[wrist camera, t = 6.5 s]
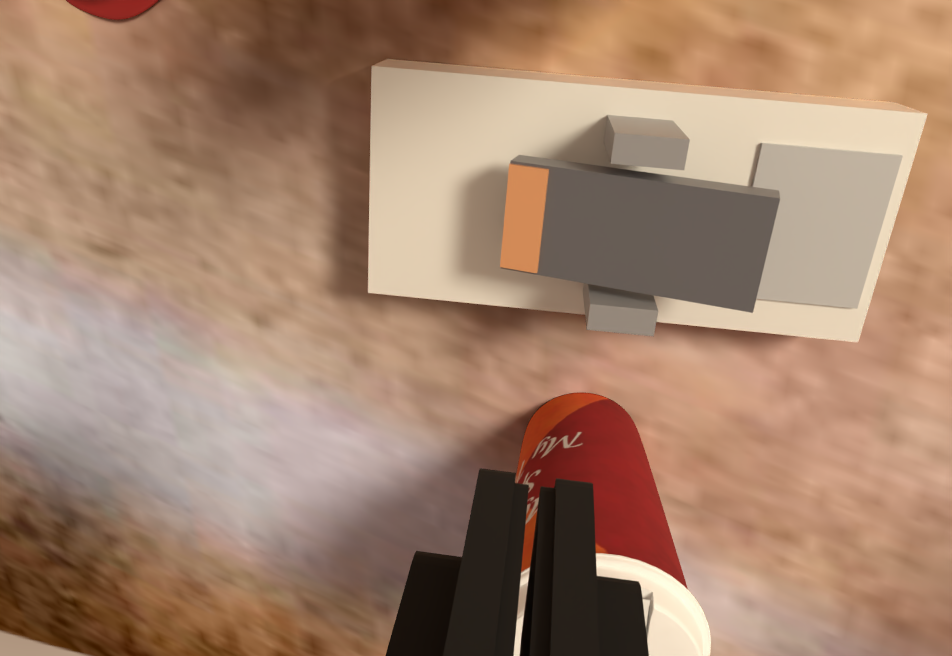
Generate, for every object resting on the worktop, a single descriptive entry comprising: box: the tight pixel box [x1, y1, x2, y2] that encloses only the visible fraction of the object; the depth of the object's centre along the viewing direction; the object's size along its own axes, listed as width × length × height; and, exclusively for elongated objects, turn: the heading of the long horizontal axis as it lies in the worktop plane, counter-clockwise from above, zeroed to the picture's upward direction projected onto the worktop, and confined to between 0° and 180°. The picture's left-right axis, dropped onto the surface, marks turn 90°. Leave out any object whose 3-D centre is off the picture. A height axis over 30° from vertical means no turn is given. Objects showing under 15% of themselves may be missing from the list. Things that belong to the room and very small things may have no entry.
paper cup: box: [514, 393, 711, 656], centre depth 31 cm, size 8×8×14 cm
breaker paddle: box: [500, 155, 780, 313], centre depth 27 cm, size 9×4×1 cm, turn 86°
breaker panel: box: [368, 59, 927, 342], centre depth 30 cm, size 20×9×7 cm, turn 86°
